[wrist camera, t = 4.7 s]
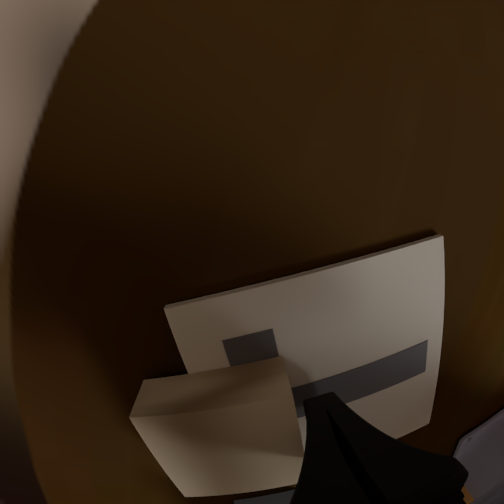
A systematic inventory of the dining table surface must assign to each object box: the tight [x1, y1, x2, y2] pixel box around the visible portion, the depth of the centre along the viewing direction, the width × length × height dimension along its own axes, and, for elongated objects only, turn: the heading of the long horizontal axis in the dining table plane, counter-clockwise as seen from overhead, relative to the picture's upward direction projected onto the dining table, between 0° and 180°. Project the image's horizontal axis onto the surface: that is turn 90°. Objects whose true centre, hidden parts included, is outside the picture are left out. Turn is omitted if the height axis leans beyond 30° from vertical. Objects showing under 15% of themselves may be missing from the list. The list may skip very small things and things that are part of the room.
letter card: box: [164, 234, 445, 451], centre depth 13 cm, size 12×12×1 cm
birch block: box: [129, 356, 304, 497], centre depth 11 cm, size 6×6×2 cm
